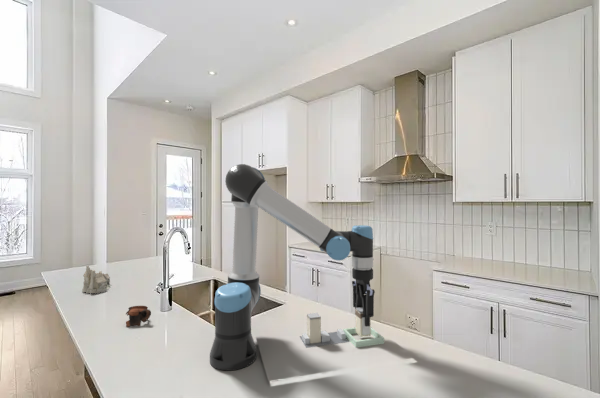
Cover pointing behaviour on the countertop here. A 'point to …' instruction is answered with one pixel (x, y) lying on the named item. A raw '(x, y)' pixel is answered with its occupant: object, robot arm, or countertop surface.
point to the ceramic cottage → (95, 281)
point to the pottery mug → (137, 315)
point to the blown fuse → (360, 322)
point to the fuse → (314, 327)
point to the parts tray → (366, 342)
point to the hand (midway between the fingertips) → (362, 331)
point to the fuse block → (325, 338)
